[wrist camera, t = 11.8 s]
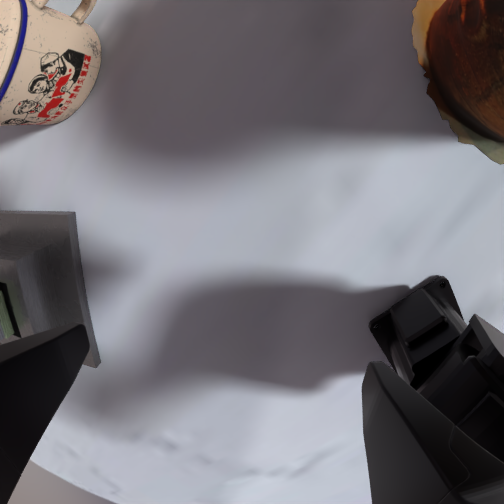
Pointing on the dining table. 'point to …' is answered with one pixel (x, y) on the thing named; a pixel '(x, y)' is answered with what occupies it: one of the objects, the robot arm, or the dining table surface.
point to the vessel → (465, 67)
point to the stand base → (43, 274)
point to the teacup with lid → (45, 61)
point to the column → (4, 320)
